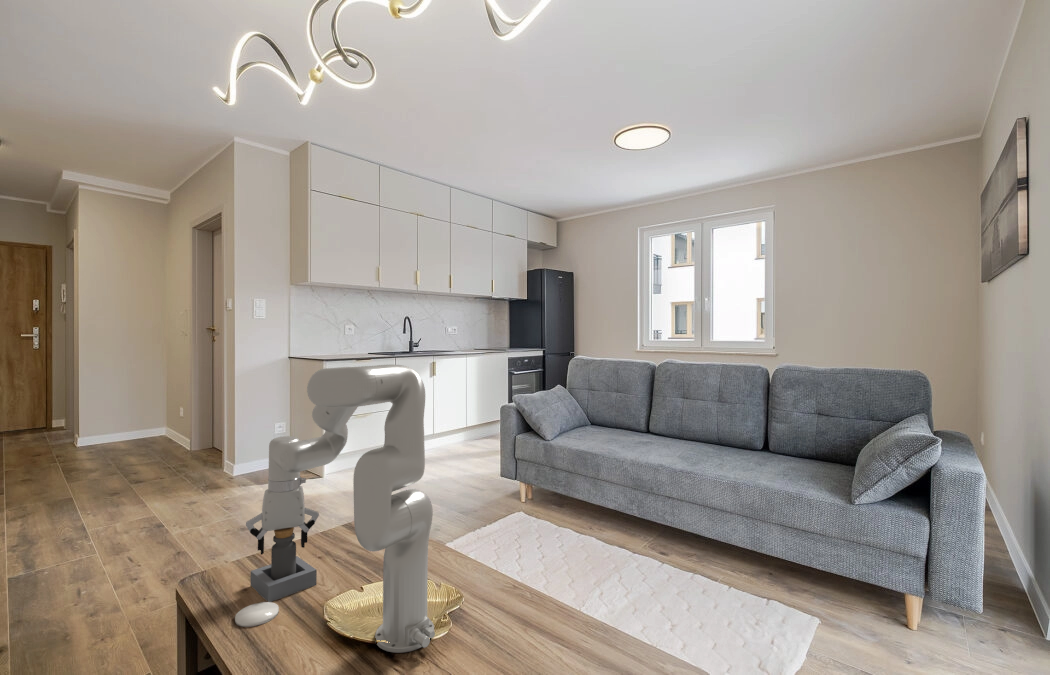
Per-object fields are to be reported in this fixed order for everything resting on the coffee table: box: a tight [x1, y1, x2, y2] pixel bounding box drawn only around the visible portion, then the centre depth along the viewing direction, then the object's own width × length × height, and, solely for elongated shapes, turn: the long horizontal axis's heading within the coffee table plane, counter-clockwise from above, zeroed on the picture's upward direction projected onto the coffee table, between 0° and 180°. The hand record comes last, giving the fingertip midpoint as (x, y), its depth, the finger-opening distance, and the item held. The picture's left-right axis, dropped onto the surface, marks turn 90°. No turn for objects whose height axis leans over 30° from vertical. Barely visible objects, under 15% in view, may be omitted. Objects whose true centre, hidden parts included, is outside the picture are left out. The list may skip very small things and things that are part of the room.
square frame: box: [250, 555, 318, 603], centre depth 130 cm, size 12×12×4 cm
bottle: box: [270, 527, 297, 581], centre depth 130 cm, size 6×6×15 cm
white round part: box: [234, 601, 280, 628], centre depth 115 cm, size 9×9×1 cm
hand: (282, 548), depth 130 cm, fingers open, 9 cm apart
